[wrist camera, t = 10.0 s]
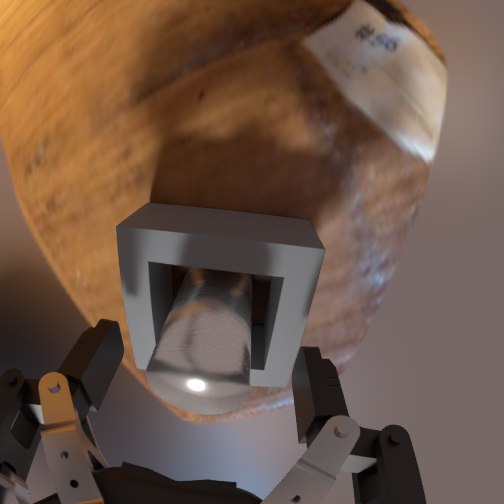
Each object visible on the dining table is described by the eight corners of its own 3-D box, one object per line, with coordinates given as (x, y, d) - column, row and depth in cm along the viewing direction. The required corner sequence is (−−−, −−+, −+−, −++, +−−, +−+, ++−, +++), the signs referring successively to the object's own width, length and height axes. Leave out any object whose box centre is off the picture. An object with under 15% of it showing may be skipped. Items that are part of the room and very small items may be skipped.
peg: (187, 247, 16) (138, 342, 8) (256, 255, 16) (256, 359, 9) (186, 304, 17) (153, 405, 10) (248, 311, 18) (244, 418, 10)
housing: (147, 202, 15) (116, 226, 11) (308, 219, 15) (325, 249, 11) (154, 328, 18) (137, 368, 15) (281, 343, 19) (285, 387, 15)
